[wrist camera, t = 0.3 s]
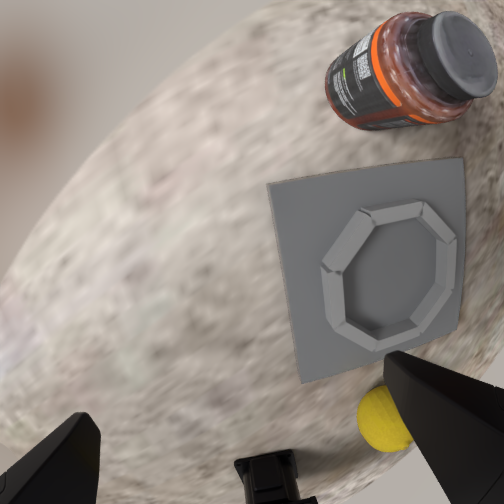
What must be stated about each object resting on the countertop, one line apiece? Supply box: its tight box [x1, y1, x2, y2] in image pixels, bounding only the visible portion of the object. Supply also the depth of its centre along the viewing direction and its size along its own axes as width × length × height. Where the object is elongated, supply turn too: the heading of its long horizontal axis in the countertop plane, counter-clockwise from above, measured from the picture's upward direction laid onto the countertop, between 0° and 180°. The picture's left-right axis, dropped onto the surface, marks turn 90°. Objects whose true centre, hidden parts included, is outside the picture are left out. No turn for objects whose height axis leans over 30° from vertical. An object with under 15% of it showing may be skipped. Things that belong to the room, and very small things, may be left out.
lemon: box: [357, 385, 414, 452], centre depth 23 cm, size 6×6×8 cm
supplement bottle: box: [325, 11, 498, 131], centre depth 13 cm, size 6×6×11 cm
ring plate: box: [266, 157, 466, 384], centre depth 22 cm, size 16×16×3 cm
